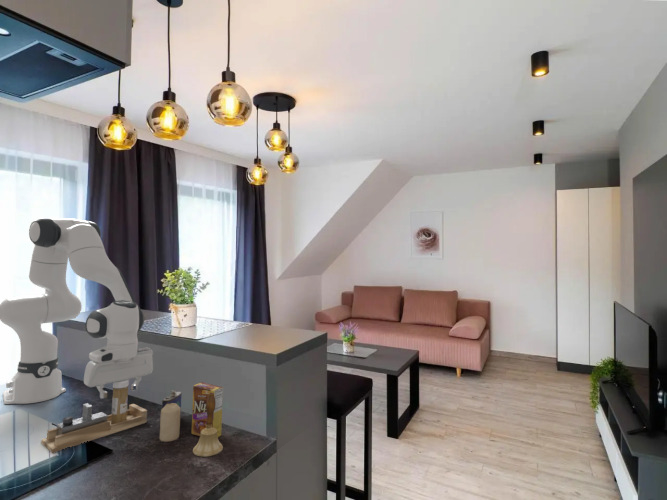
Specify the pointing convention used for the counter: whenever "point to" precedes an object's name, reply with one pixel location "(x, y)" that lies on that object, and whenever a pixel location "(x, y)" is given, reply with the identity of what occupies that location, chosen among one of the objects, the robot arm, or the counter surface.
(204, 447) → the hand bell
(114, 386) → the sprinkles bottle
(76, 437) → the guide rail
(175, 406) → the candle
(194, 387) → the candy box
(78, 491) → the counter surface
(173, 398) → the flask
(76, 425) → the sliding block with knob
